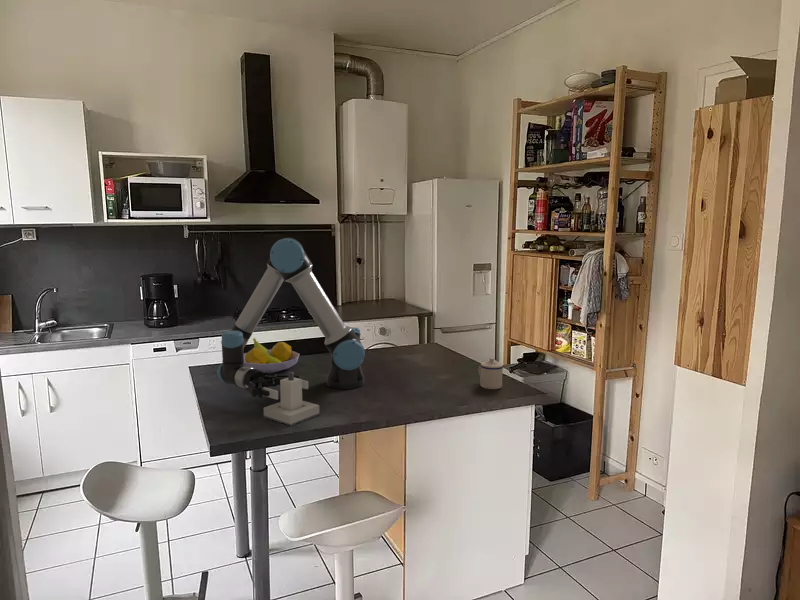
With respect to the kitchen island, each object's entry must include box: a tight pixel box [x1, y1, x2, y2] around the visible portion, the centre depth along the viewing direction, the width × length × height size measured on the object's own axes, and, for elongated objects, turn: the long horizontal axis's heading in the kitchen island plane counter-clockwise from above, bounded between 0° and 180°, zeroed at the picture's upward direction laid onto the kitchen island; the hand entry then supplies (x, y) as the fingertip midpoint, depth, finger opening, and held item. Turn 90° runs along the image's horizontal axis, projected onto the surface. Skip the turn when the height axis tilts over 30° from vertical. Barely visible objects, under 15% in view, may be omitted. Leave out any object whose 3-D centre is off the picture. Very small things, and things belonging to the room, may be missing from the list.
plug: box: [279, 371, 303, 411], centre depth 183 cm, size 5×5×14 cm
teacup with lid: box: [477, 357, 504, 390], centre depth 220 cm, size 12×9×12 cm
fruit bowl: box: [244, 337, 300, 374], centre depth 242 cm, size 28×27×11 cm
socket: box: [263, 400, 320, 427], centre depth 185 cm, size 17×13×4 cm
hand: (293, 390), depth 182 cm, fingers open, 13 cm apart
